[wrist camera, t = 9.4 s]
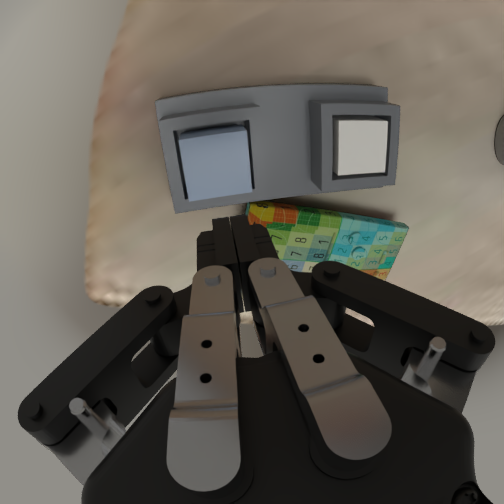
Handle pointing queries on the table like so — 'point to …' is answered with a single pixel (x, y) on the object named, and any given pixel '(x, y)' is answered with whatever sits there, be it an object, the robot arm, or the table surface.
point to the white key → (359, 144)
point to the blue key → (216, 162)
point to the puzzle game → (329, 237)
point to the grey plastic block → (278, 137)
